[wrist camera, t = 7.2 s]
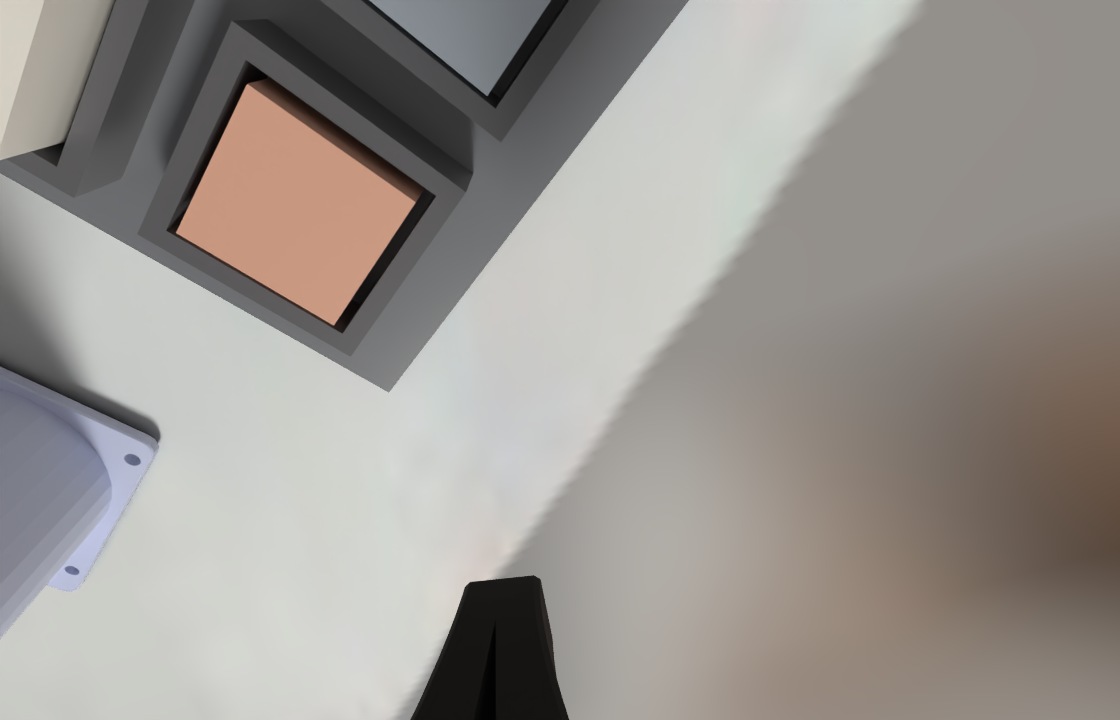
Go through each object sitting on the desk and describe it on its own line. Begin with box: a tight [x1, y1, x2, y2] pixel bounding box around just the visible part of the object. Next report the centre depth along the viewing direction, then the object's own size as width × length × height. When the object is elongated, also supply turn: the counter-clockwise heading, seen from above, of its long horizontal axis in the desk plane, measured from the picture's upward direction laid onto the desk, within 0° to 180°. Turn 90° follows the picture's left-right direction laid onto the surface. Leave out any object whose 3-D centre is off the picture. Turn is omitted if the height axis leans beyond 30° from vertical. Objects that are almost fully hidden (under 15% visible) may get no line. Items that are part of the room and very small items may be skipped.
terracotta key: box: [176, 78, 425, 325], centre depth 14 cm, size 4×4×2 cm
